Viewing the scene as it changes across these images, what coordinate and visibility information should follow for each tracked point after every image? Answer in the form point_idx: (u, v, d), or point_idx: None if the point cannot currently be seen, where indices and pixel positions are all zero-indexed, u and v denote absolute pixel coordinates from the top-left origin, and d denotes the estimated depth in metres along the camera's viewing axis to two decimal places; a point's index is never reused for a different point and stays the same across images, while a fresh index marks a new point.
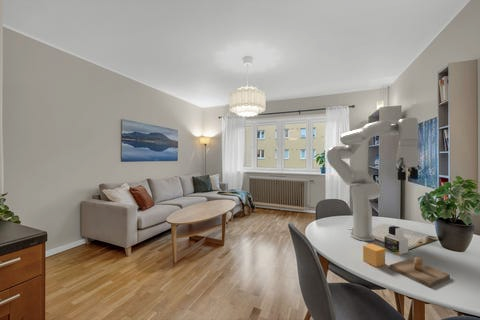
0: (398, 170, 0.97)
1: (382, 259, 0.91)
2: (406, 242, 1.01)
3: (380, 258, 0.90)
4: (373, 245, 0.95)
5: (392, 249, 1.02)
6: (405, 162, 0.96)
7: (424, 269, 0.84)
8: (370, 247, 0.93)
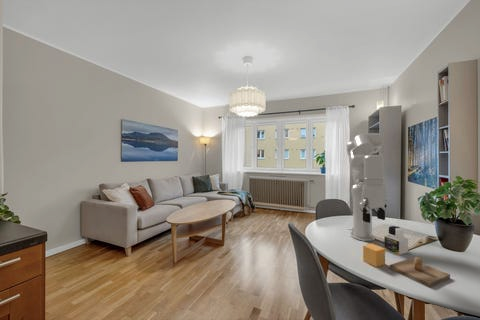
0: (362, 211, 0.91)
1: (382, 259, 0.91)
2: (406, 242, 1.01)
3: (380, 258, 0.90)
4: (373, 245, 0.95)
5: (392, 249, 1.02)
6: (369, 203, 0.89)
7: (424, 269, 0.84)
8: (370, 247, 0.93)
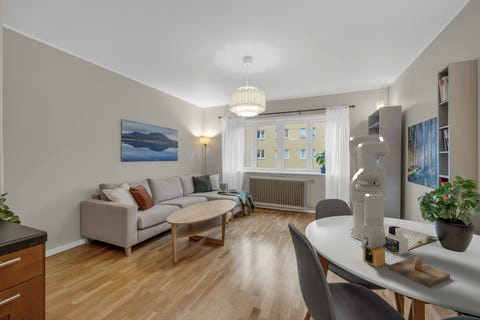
0: (365, 252, 0.92)
1: (382, 259, 0.91)
2: (406, 242, 1.01)
3: (380, 258, 0.90)
4: None
5: (392, 249, 1.02)
6: (370, 245, 0.90)
7: (424, 269, 0.84)
8: None
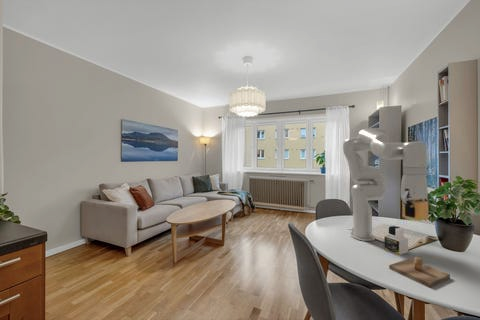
0: (406, 206, 0.83)
1: (425, 213, 0.82)
2: (406, 242, 1.01)
3: (423, 212, 0.82)
4: None
5: (392, 249, 1.02)
6: (412, 196, 0.81)
7: (424, 269, 0.84)
8: None
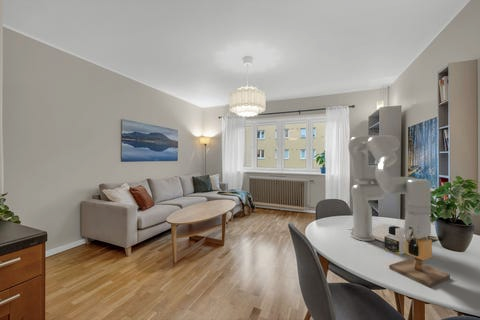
0: (409, 244, 0.83)
1: (429, 251, 0.82)
2: None
3: (427, 251, 0.81)
4: None
5: (392, 249, 1.02)
6: (416, 236, 0.81)
7: (424, 269, 0.84)
8: None
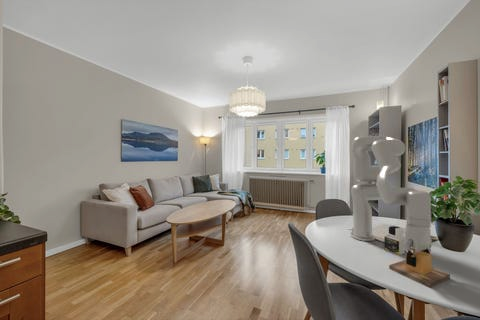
0: (407, 254, 0.82)
1: (428, 266, 0.82)
2: None
3: (427, 265, 0.81)
4: None
5: (392, 249, 1.02)
6: (415, 246, 0.81)
7: None
8: None
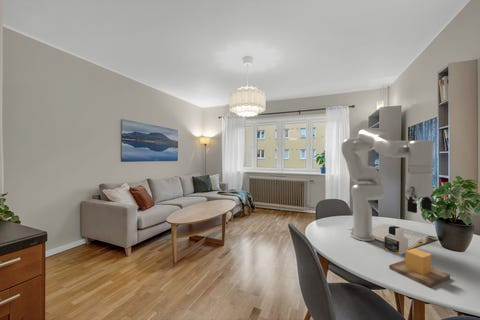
0: (408, 201, 0.84)
1: (428, 266, 0.82)
2: (406, 242, 1.01)
3: (427, 265, 0.81)
4: (416, 250, 0.86)
5: (392, 249, 1.02)
6: (417, 192, 0.82)
7: None
8: (414, 253, 0.84)
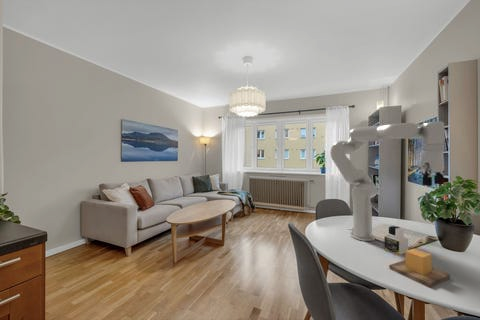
0: (424, 175, 0.95)
1: (428, 266, 0.82)
2: (406, 242, 1.01)
3: (427, 265, 0.81)
4: (416, 250, 0.86)
5: (392, 249, 1.02)
6: (431, 167, 0.93)
7: None
8: (414, 253, 0.84)
